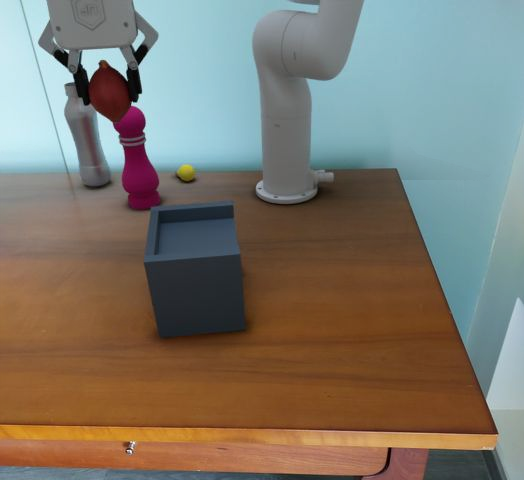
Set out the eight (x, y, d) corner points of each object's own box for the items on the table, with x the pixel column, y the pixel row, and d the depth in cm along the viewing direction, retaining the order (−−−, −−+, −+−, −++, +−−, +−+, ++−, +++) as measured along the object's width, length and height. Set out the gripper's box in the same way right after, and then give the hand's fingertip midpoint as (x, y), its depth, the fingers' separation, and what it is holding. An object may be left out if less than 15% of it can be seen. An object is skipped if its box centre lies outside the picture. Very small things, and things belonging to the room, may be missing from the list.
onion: (99, 117, 77) (85, 55, 71) (139, 115, 77) (127, 53, 72) (92, 130, 72) (76, 65, 67) (134, 127, 72) (121, 62, 67)
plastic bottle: (86, 192, 112) (59, 90, 99) (79, 181, 116) (53, 83, 104) (116, 185, 114) (94, 85, 101) (108, 175, 119) (86, 78, 106)
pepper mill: (166, 195, 109) (149, 91, 96) (157, 211, 103) (138, 102, 91) (132, 195, 110) (111, 91, 97) (122, 210, 104) (98, 103, 91)
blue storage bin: (238, 270, 85) (232, 200, 78) (245, 330, 73) (240, 253, 65) (163, 276, 85) (151, 206, 77) (159, 338, 72) (143, 262, 65)
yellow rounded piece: (190, 184, 113) (181, 169, 111) (175, 184, 117) (167, 170, 115) (200, 175, 114) (192, 160, 112) (185, 175, 118) (177, 161, 116)
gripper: (-8, -60, 58) (42, 113, 69) (149, -68, 58) (173, 105, 70) (11, -63, 64) (55, 98, 75) (154, -70, 64) (175, 90, 76)
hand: (111, 100), depth 72 cm, fingers closed on onion, 5 cm apart
